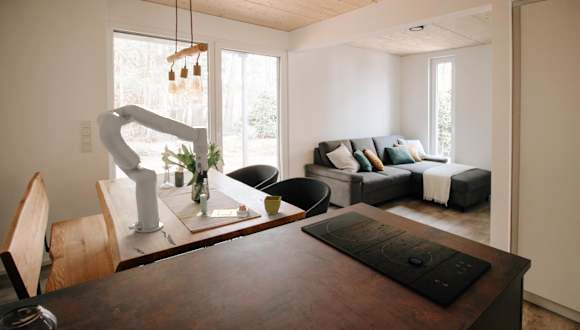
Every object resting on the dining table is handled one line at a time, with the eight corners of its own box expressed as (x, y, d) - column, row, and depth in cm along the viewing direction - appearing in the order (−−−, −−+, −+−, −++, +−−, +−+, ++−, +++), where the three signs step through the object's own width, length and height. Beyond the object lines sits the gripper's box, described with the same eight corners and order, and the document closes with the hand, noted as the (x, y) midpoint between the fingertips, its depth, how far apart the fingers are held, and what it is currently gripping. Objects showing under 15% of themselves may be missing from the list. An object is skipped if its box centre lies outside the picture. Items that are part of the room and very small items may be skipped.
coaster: (196, 217, 173) (196, 216, 173) (199, 212, 180) (199, 212, 180) (209, 216, 173) (209, 215, 173) (211, 212, 180) (211, 211, 180)
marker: (203, 215, 174) (202, 196, 172) (199, 214, 176) (198, 195, 174) (208, 213, 177) (207, 194, 175) (204, 212, 179) (203, 193, 177)
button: (239, 211, 176) (238, 206, 175) (239, 209, 179) (239, 204, 179) (245, 211, 176) (245, 206, 175) (245, 209, 179) (245, 204, 179)
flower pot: (281, 211, 183) (281, 196, 181) (279, 216, 174) (279, 200, 173) (266, 210, 184) (266, 195, 182) (264, 215, 175) (263, 200, 173)
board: (210, 218, 171) (209, 213, 171) (214, 211, 183) (214, 206, 182) (247, 217, 172) (246, 212, 172) (248, 210, 184) (248, 205, 183)
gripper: (204, 151, 162) (206, 183, 165) (210, 147, 179) (212, 176, 182) (189, 151, 162) (191, 183, 165) (197, 147, 179) (199, 176, 182)
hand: (202, 180), depth 173 cm, fingers open, 9 cm apart
